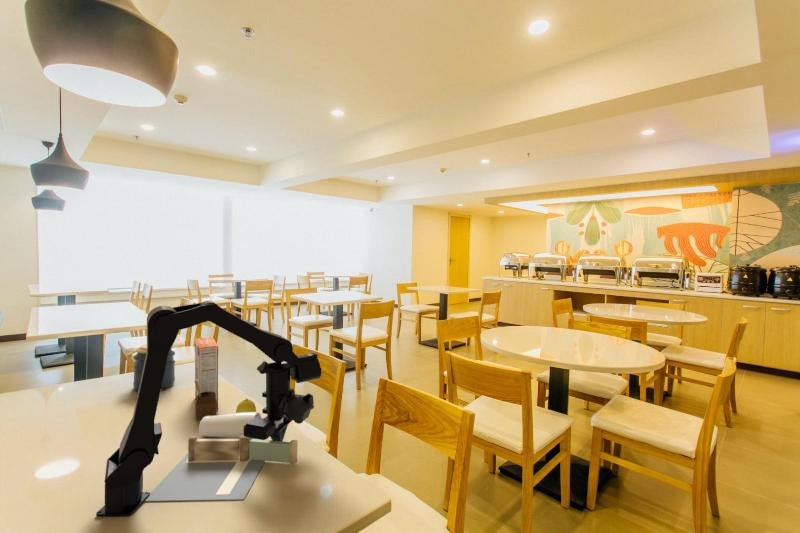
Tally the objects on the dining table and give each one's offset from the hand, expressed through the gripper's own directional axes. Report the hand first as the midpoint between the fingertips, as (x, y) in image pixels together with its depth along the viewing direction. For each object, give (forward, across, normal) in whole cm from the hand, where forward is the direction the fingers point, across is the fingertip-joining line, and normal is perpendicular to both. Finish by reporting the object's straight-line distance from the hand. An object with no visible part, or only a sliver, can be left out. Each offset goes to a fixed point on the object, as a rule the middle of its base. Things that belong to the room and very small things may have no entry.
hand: (278, 447), depth 92 cm
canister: (+4, +25, +72) cm, 76 cm away
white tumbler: (0, +2, +26) cm, 26 cm away
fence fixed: (+2, -6, +13) cm, 14 cm away
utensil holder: (+3, +12, +34) cm, 36 cm away
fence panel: (+2, -2, 0) cm, 3 cm away
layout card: (+2, -11, +10) cm, 15 cm away
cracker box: (+4, +20, +42) cm, 46 cm away
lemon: (+3, +11, +19) cm, 22 cm away
